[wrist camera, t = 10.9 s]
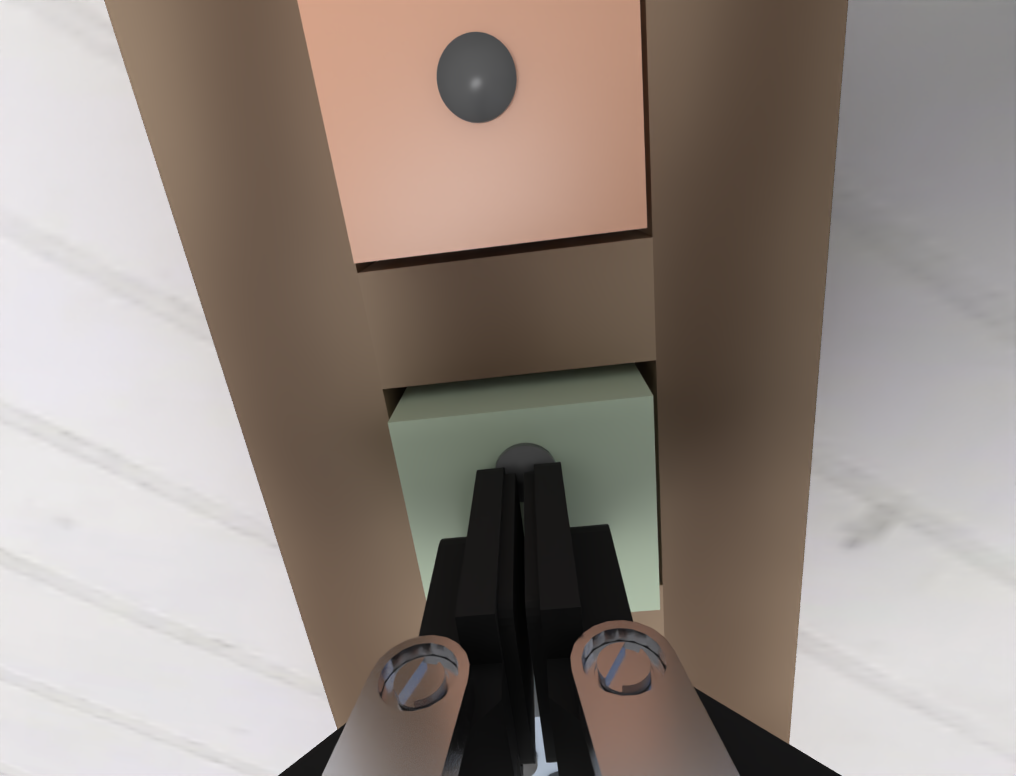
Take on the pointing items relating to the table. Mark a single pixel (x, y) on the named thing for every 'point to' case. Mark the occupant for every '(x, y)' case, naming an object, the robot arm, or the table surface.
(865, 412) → the table surface
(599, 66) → the button one dot
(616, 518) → the button two dots
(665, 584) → the button board
